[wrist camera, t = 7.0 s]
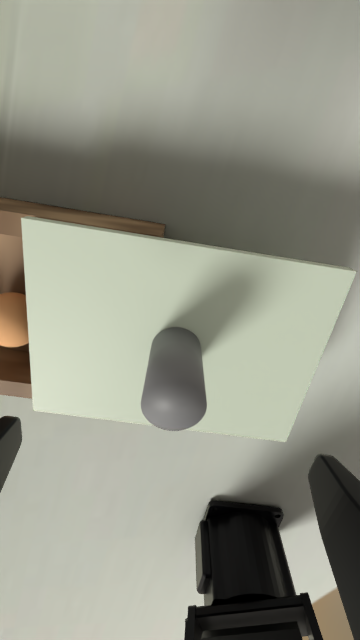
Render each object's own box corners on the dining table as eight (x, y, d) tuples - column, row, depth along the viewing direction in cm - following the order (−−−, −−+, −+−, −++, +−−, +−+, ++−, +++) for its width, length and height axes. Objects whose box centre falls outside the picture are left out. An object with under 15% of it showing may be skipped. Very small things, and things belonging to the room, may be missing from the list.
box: (165, 224, 17) (160, 236, 13) (145, 375, 21) (138, 412, 18) (-104, 180, 16) (-179, 181, 13) (-68, 346, 20) (-117, 379, 17)
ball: (50, 289, 18) (26, 309, 15) (51, 334, 19) (29, 361, 16) (-3, 281, 17) (-37, 300, 15) (2, 327, 19) (-29, 353, 16)
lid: (349, 267, 14) (423, 308, 9) (282, 434, 18) (312, 513, 14) (27, 216, 13) (-48, 235, 9) (37, 403, 17) (-10, 477, 13)
